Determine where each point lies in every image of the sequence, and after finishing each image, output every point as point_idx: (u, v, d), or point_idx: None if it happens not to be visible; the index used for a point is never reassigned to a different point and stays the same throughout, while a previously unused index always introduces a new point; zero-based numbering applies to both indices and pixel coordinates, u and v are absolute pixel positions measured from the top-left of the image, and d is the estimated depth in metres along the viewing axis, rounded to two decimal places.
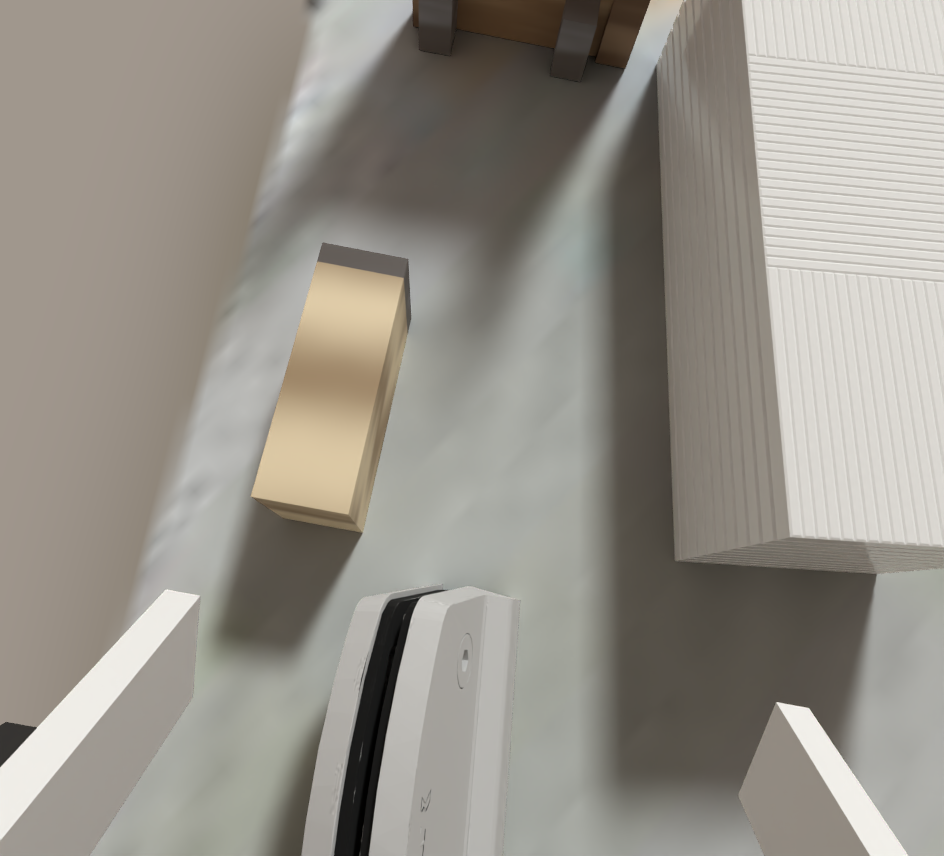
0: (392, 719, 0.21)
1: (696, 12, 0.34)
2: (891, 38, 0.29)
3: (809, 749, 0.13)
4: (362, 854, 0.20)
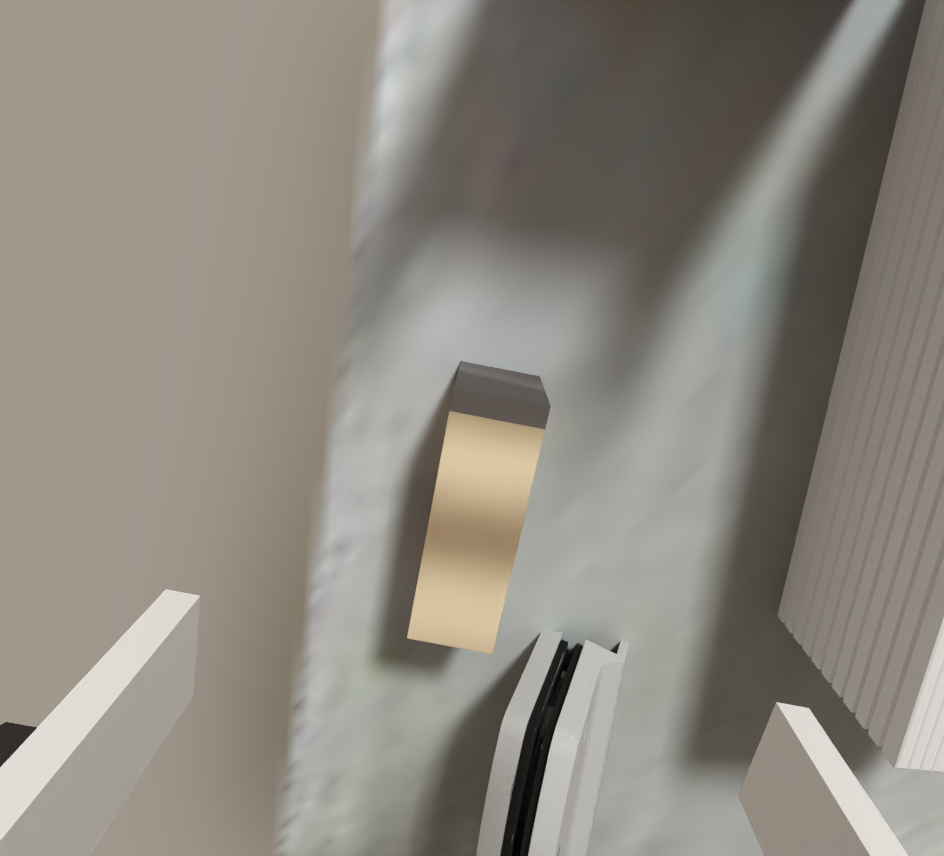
0: (536, 828, 0.29)
1: None
2: None
3: (809, 749, 0.13)
4: None
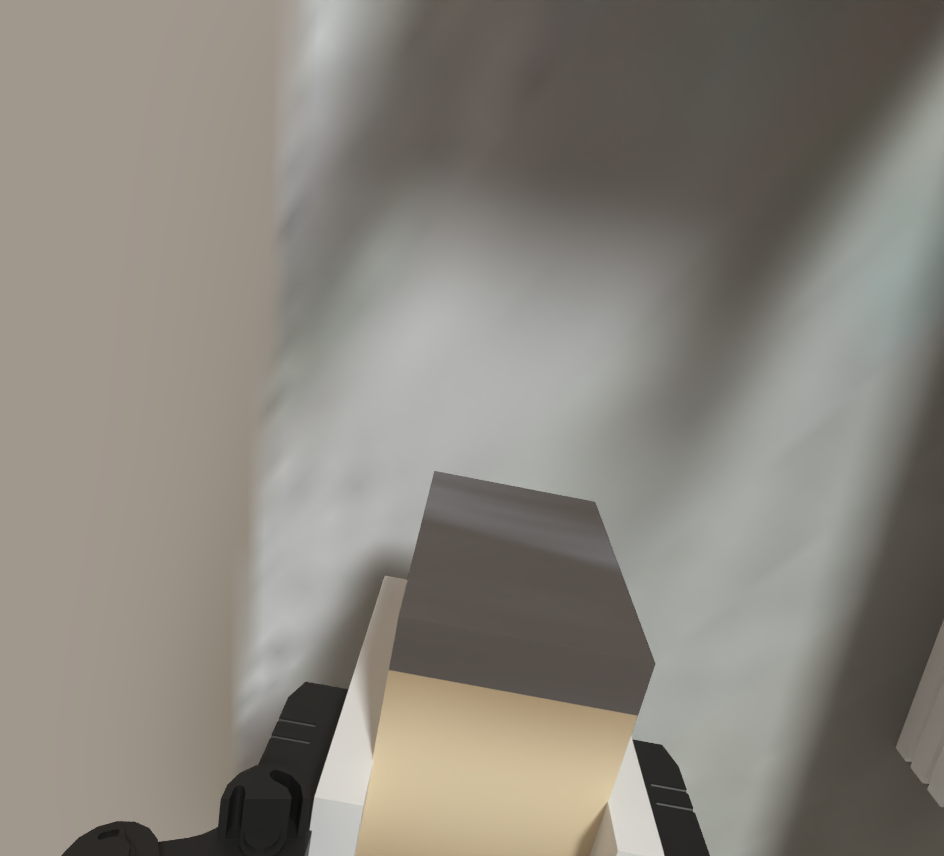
0: None
1: None
2: None
3: None
4: None
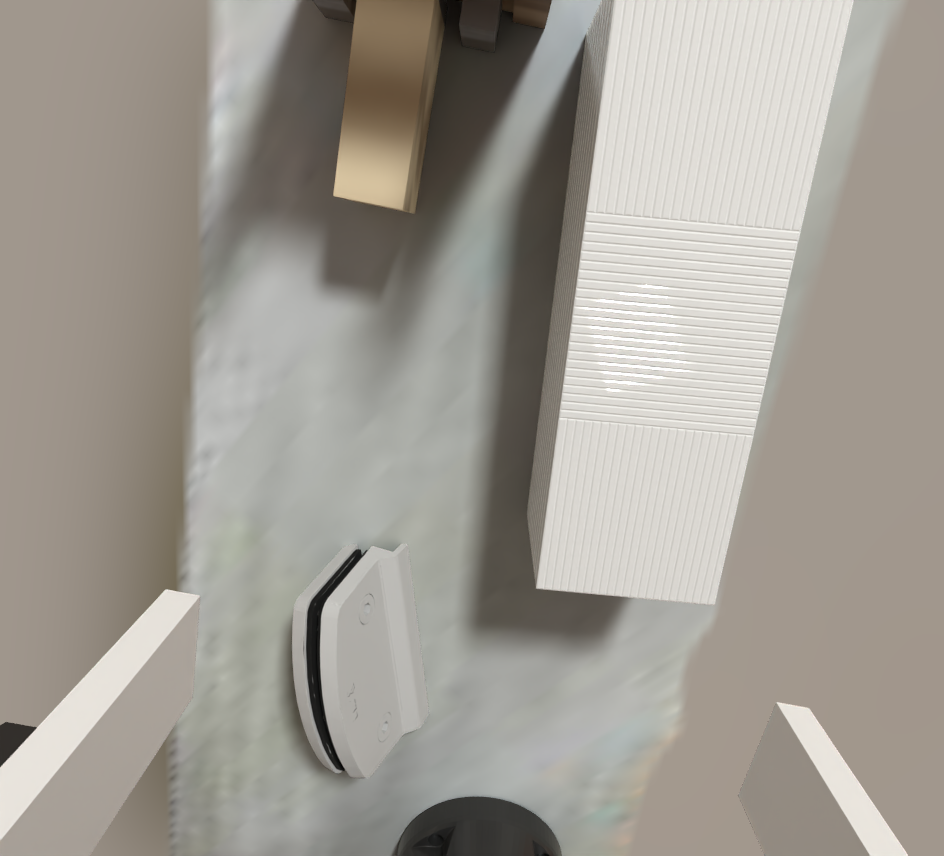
0: (321, 668, 0.42)
1: (595, 58, 0.33)
2: (734, 183, 0.30)
3: (809, 748, 0.13)
4: (324, 717, 0.43)
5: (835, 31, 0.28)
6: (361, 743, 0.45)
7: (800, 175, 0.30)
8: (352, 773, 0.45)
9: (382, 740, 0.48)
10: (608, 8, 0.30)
